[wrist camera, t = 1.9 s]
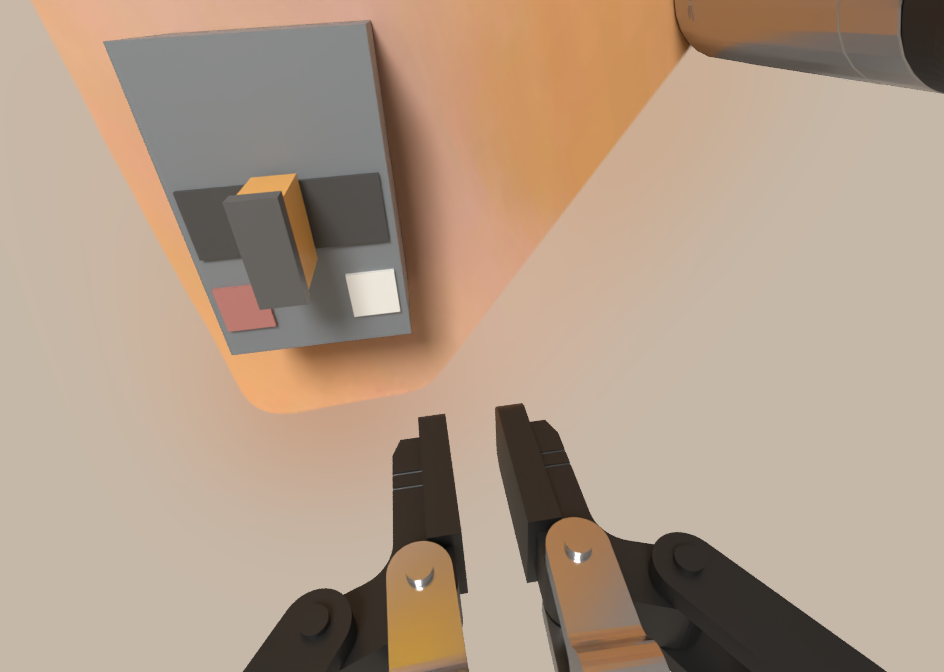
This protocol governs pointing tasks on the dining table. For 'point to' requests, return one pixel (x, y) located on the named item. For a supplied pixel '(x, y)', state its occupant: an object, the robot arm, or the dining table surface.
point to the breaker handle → (274, 239)
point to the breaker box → (276, 168)
